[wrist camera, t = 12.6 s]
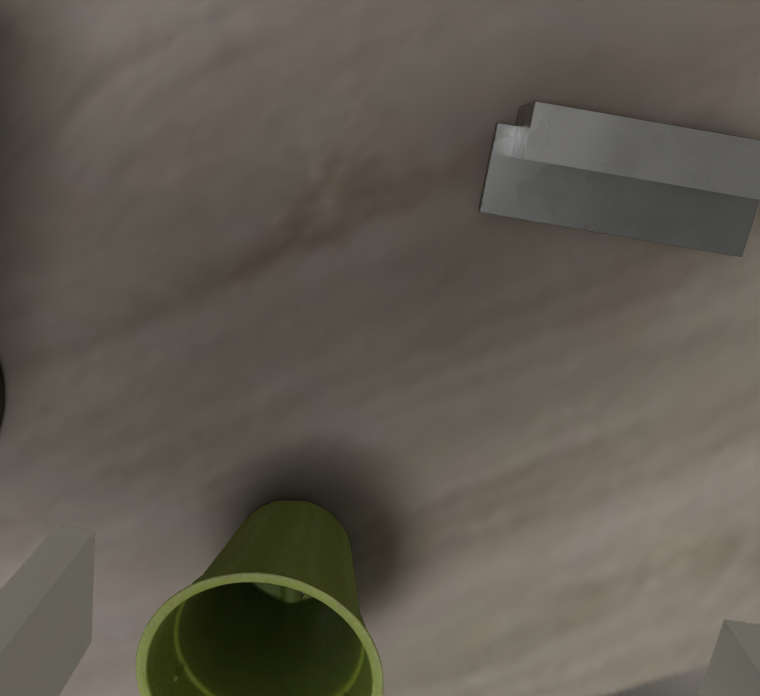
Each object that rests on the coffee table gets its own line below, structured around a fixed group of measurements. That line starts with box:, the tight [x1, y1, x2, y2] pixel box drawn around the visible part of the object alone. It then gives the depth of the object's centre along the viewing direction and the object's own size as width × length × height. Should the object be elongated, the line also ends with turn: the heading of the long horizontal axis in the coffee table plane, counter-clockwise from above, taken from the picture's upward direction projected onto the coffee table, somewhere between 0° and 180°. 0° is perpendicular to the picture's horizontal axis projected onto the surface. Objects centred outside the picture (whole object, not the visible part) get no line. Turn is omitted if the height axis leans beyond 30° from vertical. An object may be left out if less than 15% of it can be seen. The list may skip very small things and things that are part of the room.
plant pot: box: [136, 501, 383, 696], centre depth 39 cm, size 12×12×11 cm
